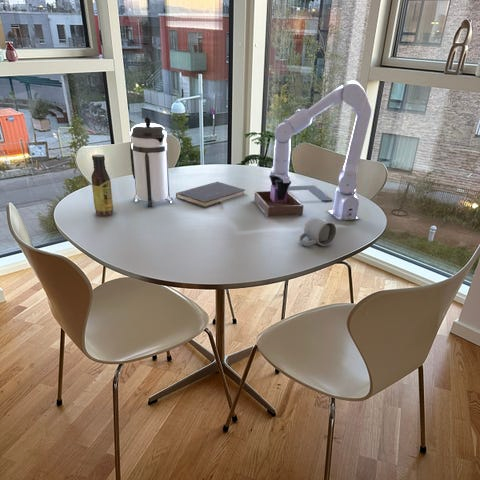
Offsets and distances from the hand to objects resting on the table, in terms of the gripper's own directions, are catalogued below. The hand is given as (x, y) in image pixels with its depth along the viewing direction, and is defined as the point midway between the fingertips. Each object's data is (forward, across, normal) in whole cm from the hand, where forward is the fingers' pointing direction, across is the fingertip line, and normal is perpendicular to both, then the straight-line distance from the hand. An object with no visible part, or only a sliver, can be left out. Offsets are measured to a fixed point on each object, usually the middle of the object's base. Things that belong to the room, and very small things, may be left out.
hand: (278, 197), depth 171 cm
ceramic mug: (+5, +33, +2) cm, 33 cm away
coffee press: (+5, -16, -46) cm, 49 cm away
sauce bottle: (+5, -4, -63) cm, 63 cm away
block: (+1, 0, 0) cm, 1 cm away
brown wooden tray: (+5, 0, 0) cm, 5 cm away
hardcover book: (+5, -18, -22) cm, 29 cm away
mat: (+5, -16, +18) cm, 24 cm away
